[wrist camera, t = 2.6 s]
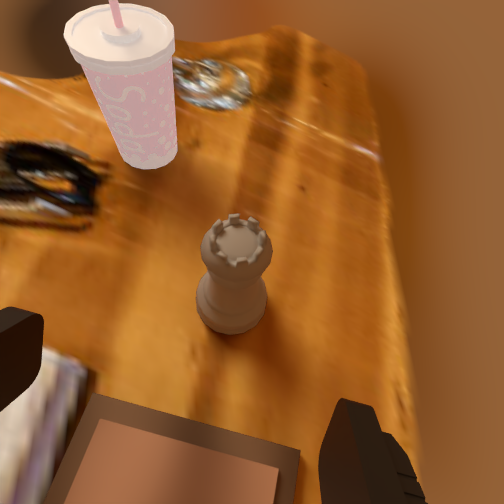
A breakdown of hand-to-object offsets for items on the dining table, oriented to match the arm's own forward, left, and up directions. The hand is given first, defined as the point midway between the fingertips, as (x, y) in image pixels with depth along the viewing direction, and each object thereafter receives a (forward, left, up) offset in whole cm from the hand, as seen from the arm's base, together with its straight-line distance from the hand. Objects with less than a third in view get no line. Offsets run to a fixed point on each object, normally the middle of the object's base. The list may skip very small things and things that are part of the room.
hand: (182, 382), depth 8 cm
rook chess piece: (0, +6, -11) cm, 12 cm away
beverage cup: (-10, +17, -11) cm, 23 cm away
